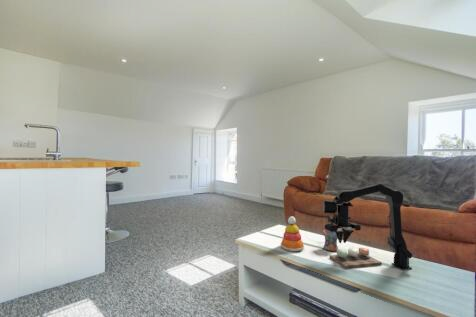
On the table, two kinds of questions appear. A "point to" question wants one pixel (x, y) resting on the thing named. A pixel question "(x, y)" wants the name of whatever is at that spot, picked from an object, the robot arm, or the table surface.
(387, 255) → the table surface
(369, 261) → the button board
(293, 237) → the stacking toy
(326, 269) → the table surface
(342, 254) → the sage button
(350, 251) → the cream button
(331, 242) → the mug
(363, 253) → the terracotta button
